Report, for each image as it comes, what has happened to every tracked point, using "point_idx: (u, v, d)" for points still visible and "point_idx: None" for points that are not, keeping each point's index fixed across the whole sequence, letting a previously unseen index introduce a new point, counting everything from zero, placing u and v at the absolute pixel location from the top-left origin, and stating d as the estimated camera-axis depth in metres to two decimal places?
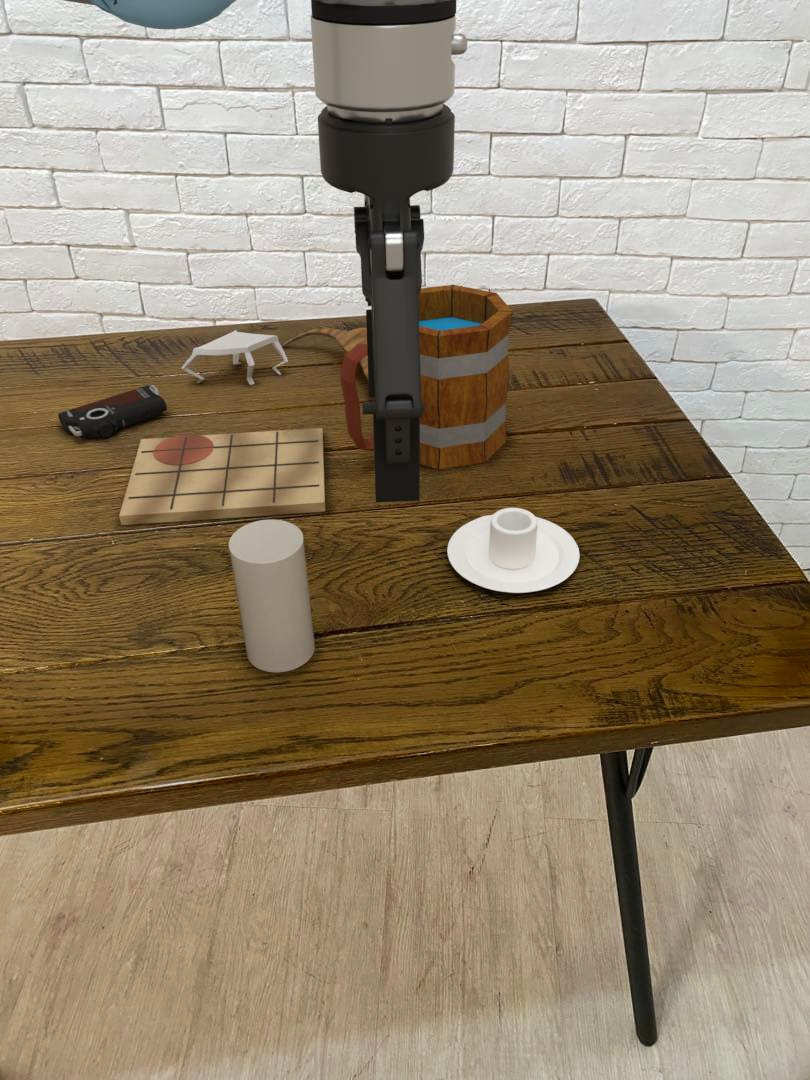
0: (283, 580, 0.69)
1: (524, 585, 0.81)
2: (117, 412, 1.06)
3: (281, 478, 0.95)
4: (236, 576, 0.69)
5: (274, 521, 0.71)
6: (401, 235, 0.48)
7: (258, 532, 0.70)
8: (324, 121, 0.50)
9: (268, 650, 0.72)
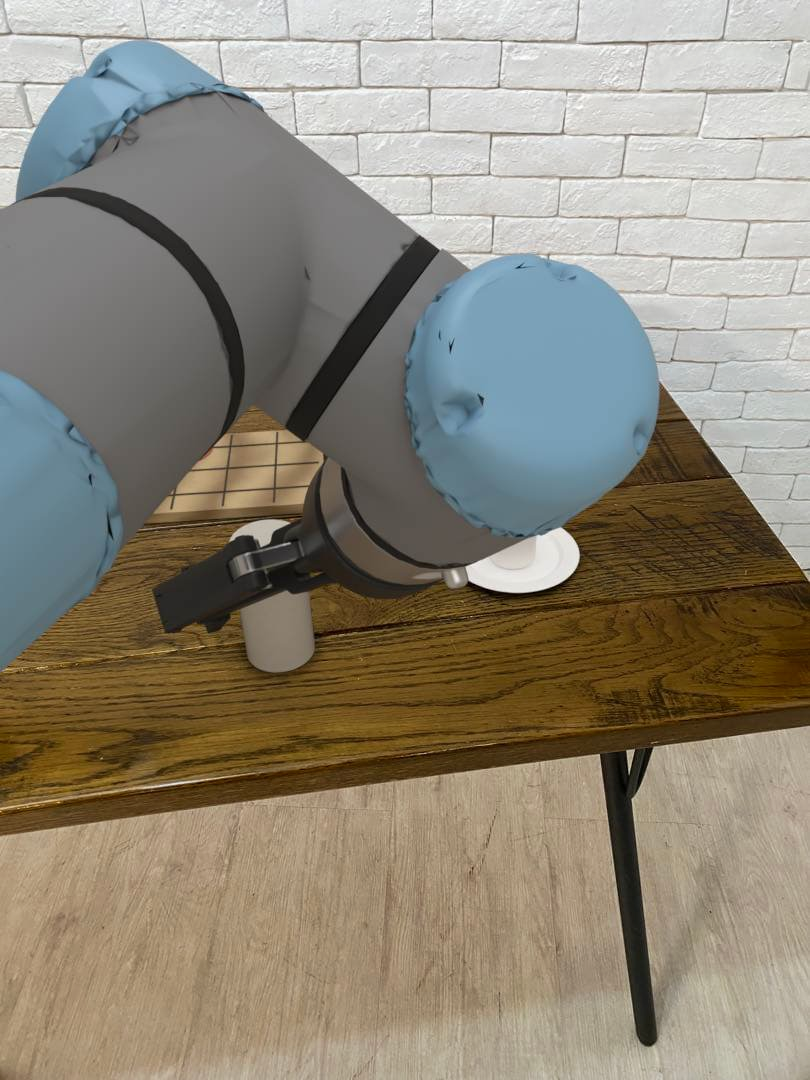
0: None
1: (524, 585, 0.81)
2: None
3: (281, 478, 0.95)
4: None
5: (274, 521, 0.71)
6: (245, 572, 0.42)
7: (258, 532, 0.70)
8: None
9: (268, 650, 0.72)
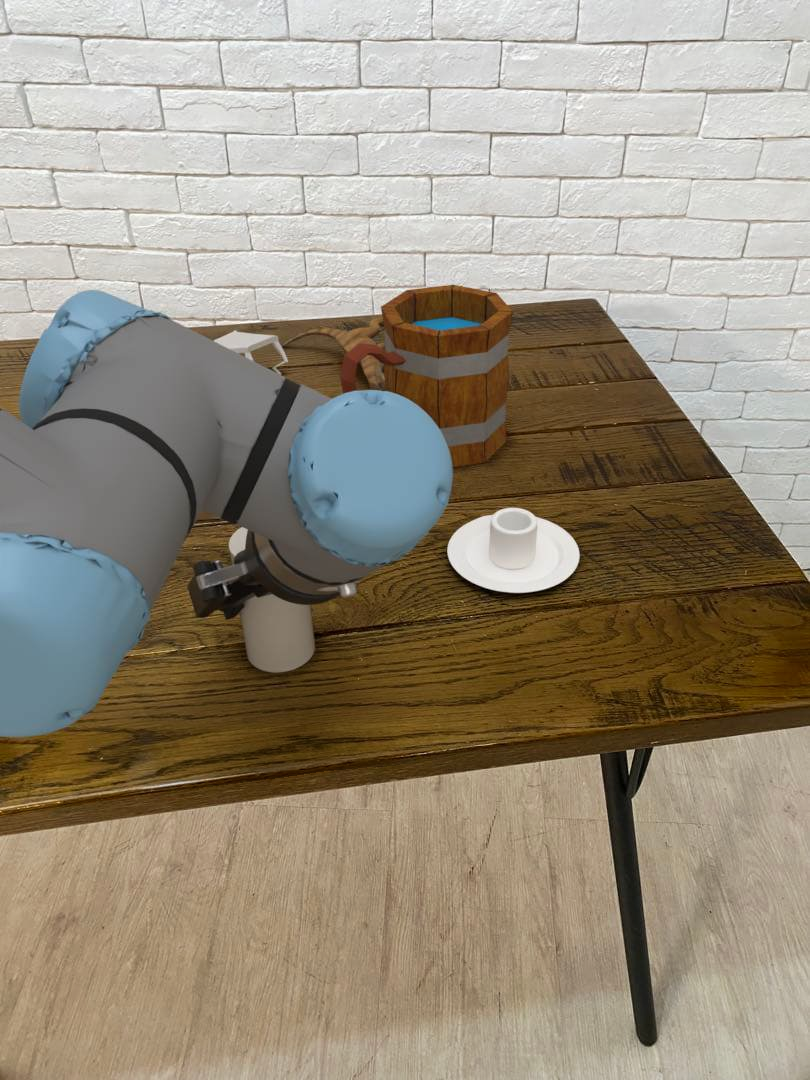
0: None
1: (524, 585, 0.81)
2: None
3: None
4: None
5: None
6: (201, 588, 0.59)
7: None
8: None
9: (268, 650, 0.72)
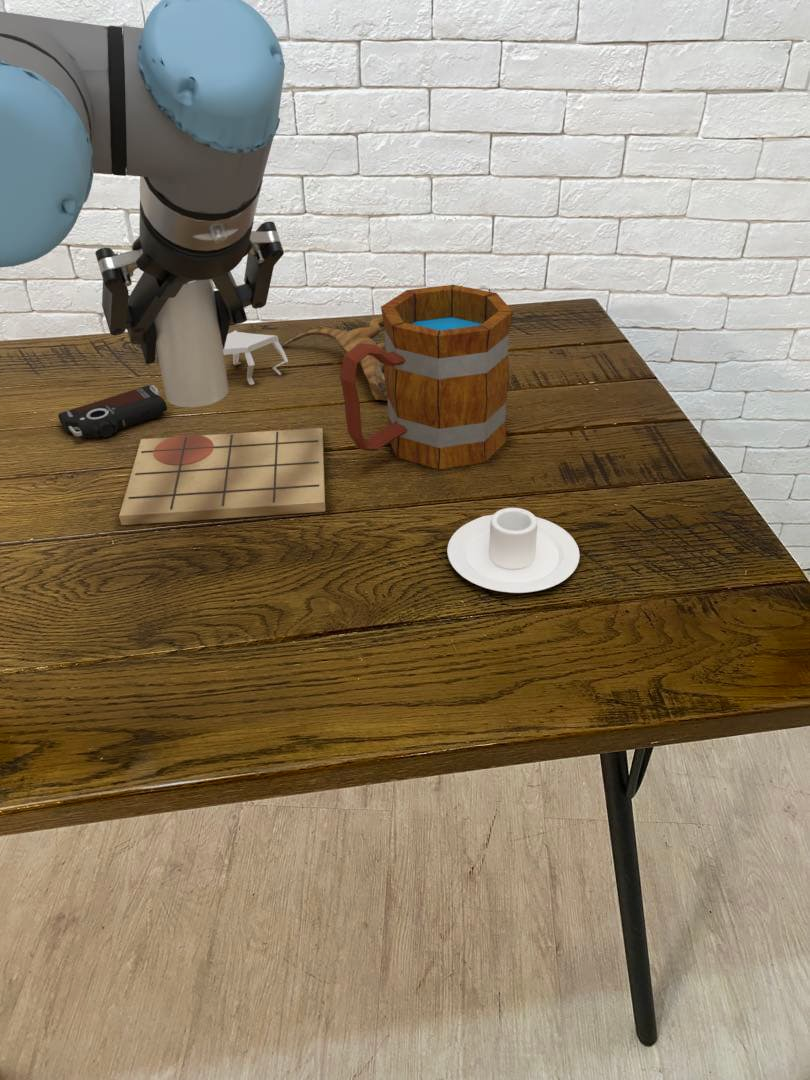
0: (191, 305, 0.75)
1: (524, 585, 0.81)
2: (117, 412, 1.06)
3: (281, 478, 0.95)
4: None
5: None
6: (102, 271, 0.66)
7: None
8: None
9: (181, 382, 0.79)
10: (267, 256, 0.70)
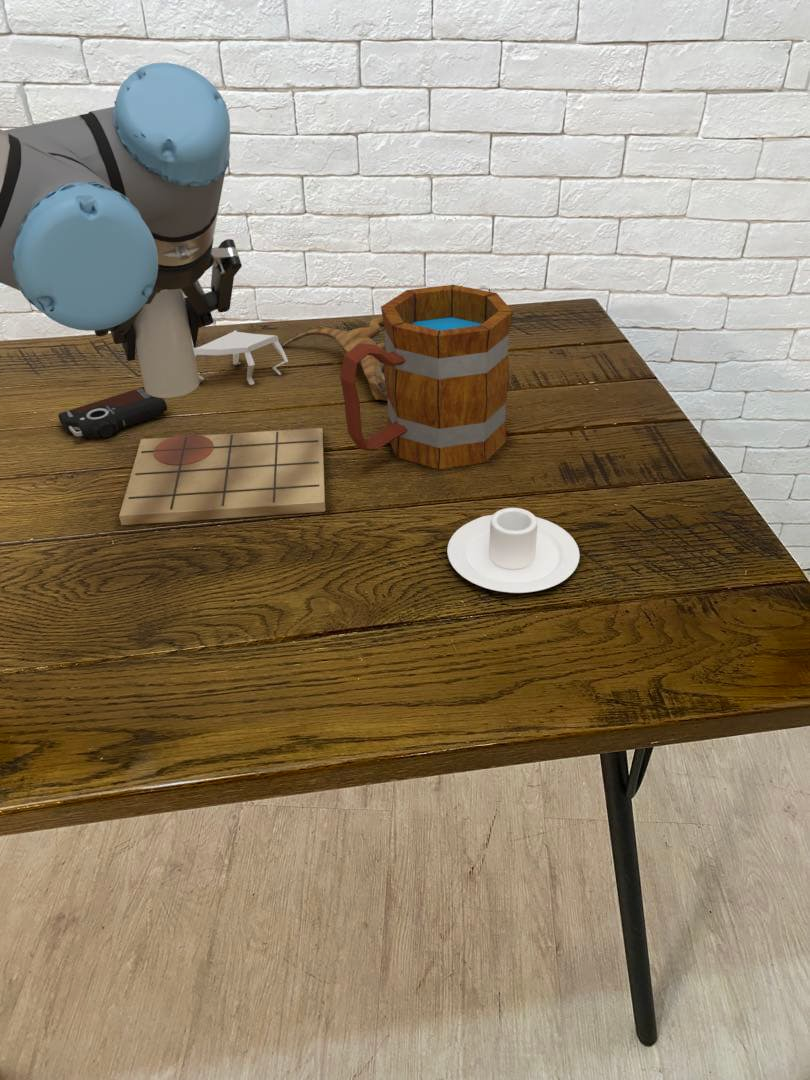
0: (164, 310, 0.88)
1: (524, 585, 0.81)
2: (117, 412, 1.06)
3: (281, 478, 0.95)
4: None
5: None
6: None
7: None
8: None
9: (157, 376, 0.92)
10: (227, 269, 0.83)
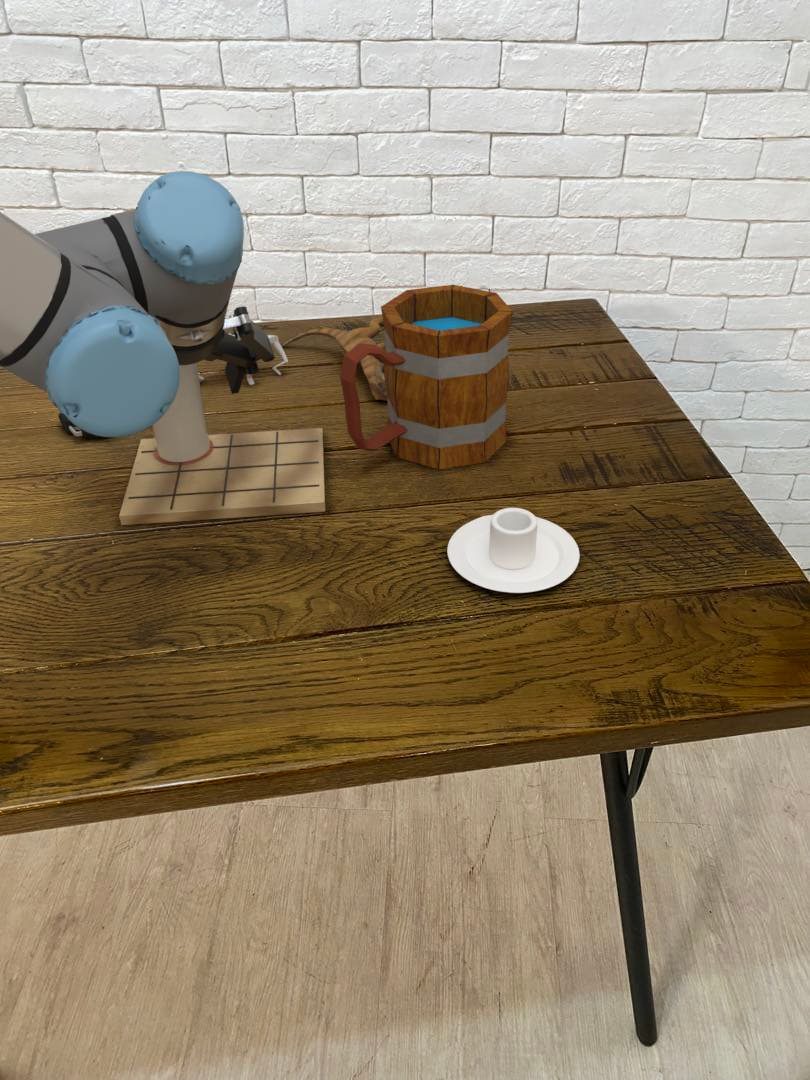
0: None
1: (524, 585, 0.81)
2: None
3: (281, 478, 0.95)
4: None
5: None
6: None
7: None
8: None
9: (170, 442, 0.96)
10: (241, 336, 0.86)
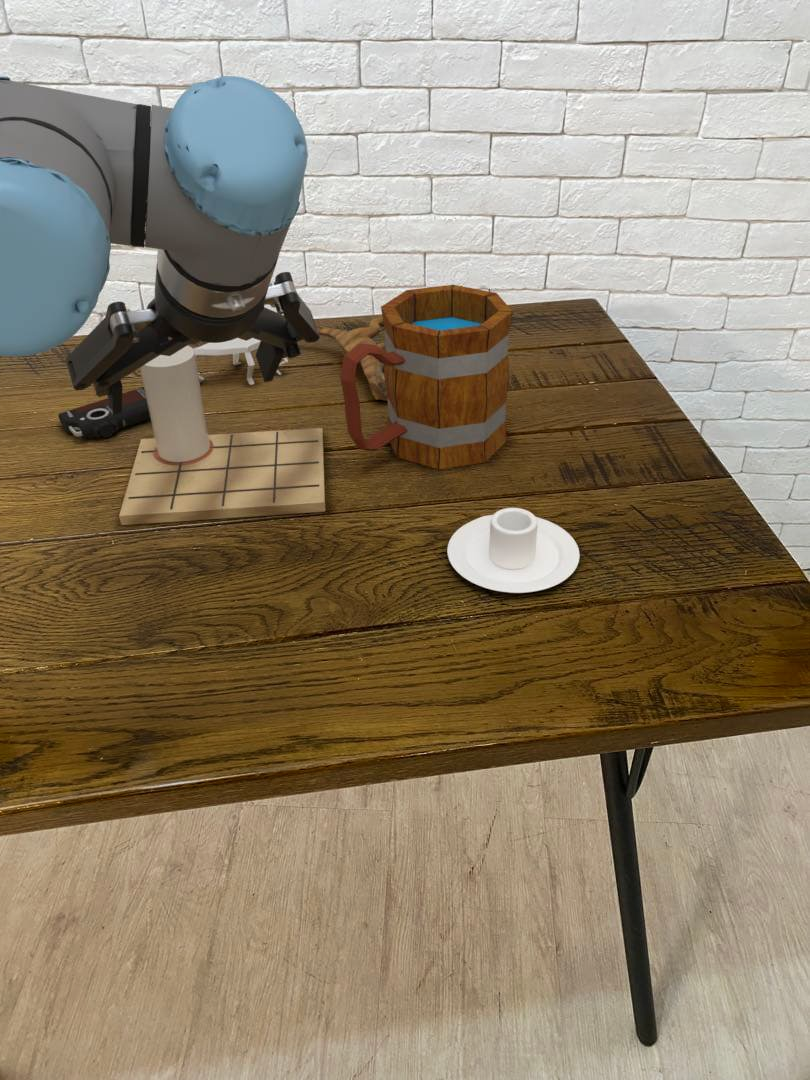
0: (178, 382, 0.93)
1: (524, 585, 0.81)
2: None
3: (281, 478, 0.95)
4: (144, 381, 0.93)
5: None
6: (118, 324, 0.65)
7: None
8: None
9: (170, 442, 0.96)
10: (284, 308, 0.70)
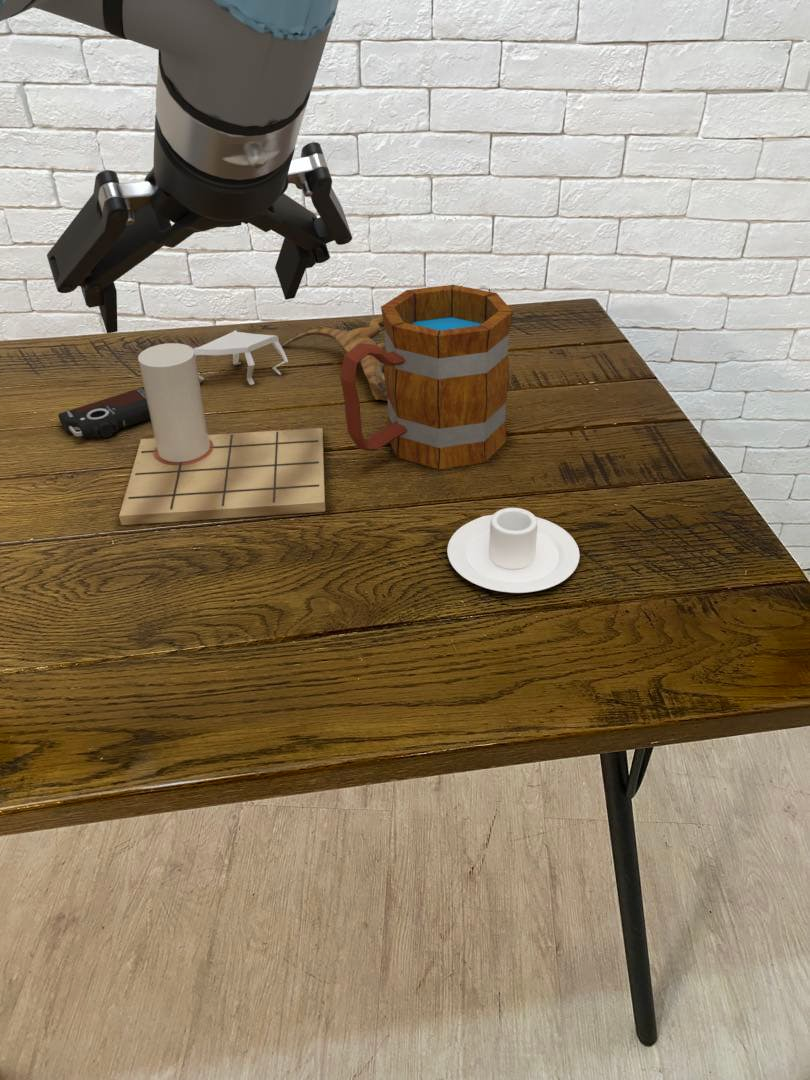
0: (178, 382, 0.93)
1: (524, 585, 0.81)
2: (117, 412, 1.06)
3: (281, 478, 0.95)
4: (144, 381, 0.93)
5: (174, 344, 0.95)
6: (108, 197, 0.52)
7: (161, 350, 0.94)
8: None
9: (170, 442, 0.96)
10: (312, 188, 0.57)
